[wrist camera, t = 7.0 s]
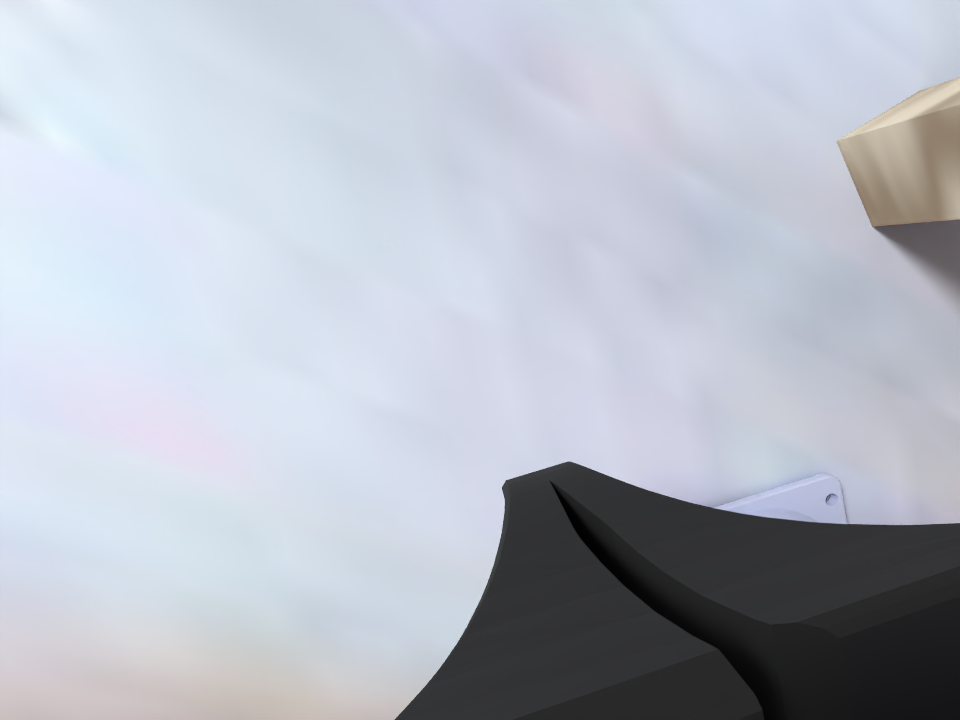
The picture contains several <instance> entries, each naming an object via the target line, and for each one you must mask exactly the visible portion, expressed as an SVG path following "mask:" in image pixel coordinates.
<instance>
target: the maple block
mask: <svg viewBox="0 0 960 720" xmlns="http://www.w3.org/2000/svg"><path fill="white" fill-rule="evenodd" d="M837 144H838V146H839V148H840V151H841V153H842V155H843V158H844V160H845V162H846V165H847V167H848V170H849V172H850V174H851V177H852V179H853V181H854V184H855V186H856V189H857V191H858V193H859V196H860V198H861V200H862V203H863V205H864V208H865V210H866V212H867V215H868V217H869V219H870V222H871V224H872V227H874V226H886V225H897V224H909V223H921V222H933V221H945V220H957V219H960V77H959V78H956V79H953V80H950V81H947V82H944V83H942V84H939V85H936V86H933V87H930V88H927V89H924V90H921V91H919V92H917V93H915V94H914V95H912V96H910V97H909V98H907V99H906V100H904V101H902V102H901V103H899V104H897V105H896V106H894V107H892V108H891V109H889V110H887V111H886V112H884V113H882V114H881V115H879V116H877V117H876V118H874V119H872V120H871V121H869V122H867V123H866V124H864V125H862V126H861V127H859V128H857V129H856V130H854V131H852V132H851V133H849V134H847V135H846V136H844V137H842V138H841V139H839V140H837Z"/></svg>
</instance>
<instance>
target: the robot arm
mask: <svg viewBox="0 0 960 720" xmlns="http://www.w3.org/2000/svg"><path fill="white" fill-rule="evenodd" d="M502 490H503V494H504V498H505V514H504V521H503V528H502V534H501V539H500V543H499V547H498V551H497V555H496V559H495V563H494V566H493V569H492V572H491V575H490V578H489V580H488V583H487V586H486V588H485V590H484V593H483V595H482V598H481V600H480V602H479V604H478V606H477V608H476V610H475V612H474V614H473V616H472V618H471V620H470V622H469V624H468V626H467V628H466V629H465V631H464V633H463V635H462V636H461V638H460V640H459V641H458V643H457V645H456V646H455V647H454V649H453V650H452V652H451V653H450V655H449V656H448V658H447V659H446V660H445V662H444V663H443V665H442V666H441V667H440V669H439V670H438V671H437V673H436V674H435V675H434V676H433V678H432V679H431V680H430V681H429V682H428V684H427V685H426V686H425V687H424V688H423V689H422V691H421V692H420V693H419V694H418V695H417V696H416V697H415V698H414V699H413V700H412V701H411V703H410V704H409V705H408V706H407V707H406V708H405V709H404V710H403V711H402V712H401V713H400V715H399V716H398V717H397V718H396V719H395V720H960V523H955V524H929V525H863V524H847V519H846V513H845V507H844V501H843V495H842V489H841V484H840V481H839V480H838V479H837V478H836V477H835V476H833V475H831V474H828V473H822V474H818V475H815V476H812V477H809V478H806V479H803V480H799V481H796V482H793V483H790V484H787V485H783V486H780V487H777V488H774V489H771V490H768V491H764V492H761V493H758V494H755V495H752V496H748V497H745V498H742V499H739V500H736V501H733V502H729V503H726V504H723V505H720V506H717V507H713V508H711V507H706V506H702V505H697V504H693V503H689V502H685V501H682V500H678V499H675V498H671V497H668V496H664V495H661V494H658V493H654V492H651V491H648V490H645V489H642V488H639V487H637V486H634V485H631V484H628V483H625V482H623V481H620V480H617V479H615V478H612V477H609V476H607V475H604V474H602V473H599V472H597V471H594V470H592V469H589V468H587V467H584V466H581V465H579V464H576V463H573V462H565V463H562V464H559V465H555V466H552V467H549V468H546V469H542V470H539V471H536V472H532V473H529V474H526V475H522V476H519V477H516V478H513V479H509V480H506V482H505V483H504V485H503V487H502ZM829 494H831V497H830V499H829V500H828V501H826V502H825V500H826V497H827V496H828V495H829Z"/></svg>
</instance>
